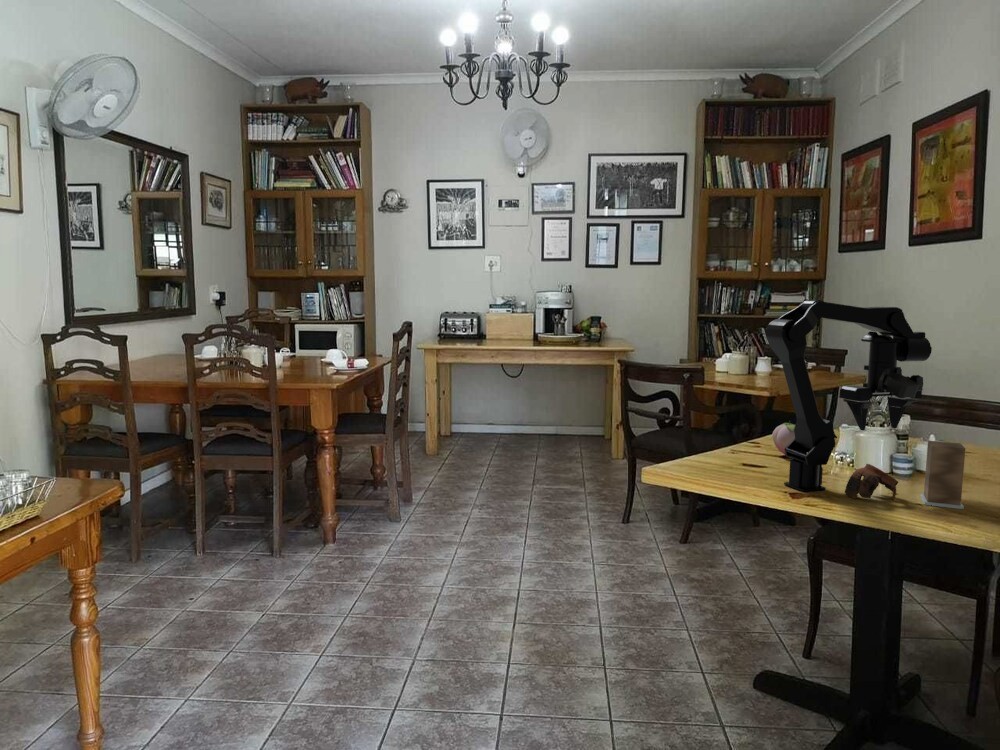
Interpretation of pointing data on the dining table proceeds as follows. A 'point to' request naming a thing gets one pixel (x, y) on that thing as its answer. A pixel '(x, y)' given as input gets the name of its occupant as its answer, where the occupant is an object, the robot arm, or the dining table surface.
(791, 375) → the robot arm
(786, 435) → the decorative fruit
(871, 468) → the brown curved piece
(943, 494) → the walnut block
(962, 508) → the slate-blue tile
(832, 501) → the dining table surface
